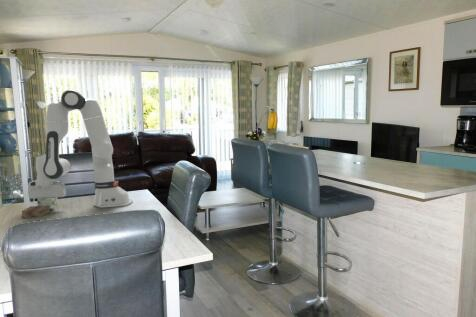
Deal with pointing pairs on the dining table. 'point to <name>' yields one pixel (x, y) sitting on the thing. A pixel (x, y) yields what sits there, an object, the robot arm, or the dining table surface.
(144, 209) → the dining table surface
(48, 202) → the sage cube
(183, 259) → the dining table surface
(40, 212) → the walnut block
